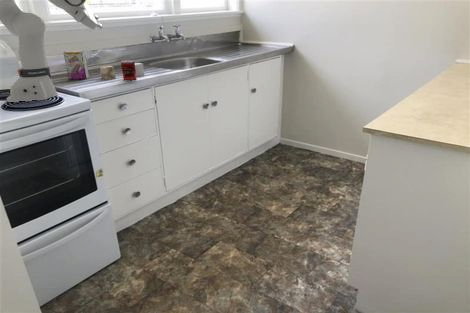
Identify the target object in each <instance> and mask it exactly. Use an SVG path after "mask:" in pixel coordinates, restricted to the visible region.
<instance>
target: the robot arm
mask: <svg viewBox="0 0 470 313" xmlns="http://www.w3.org/2000/svg"><path fill="white" fill-rule="evenodd" d="M47 1H48V2H49V3H51V4H53V5H54V6H55V7H57V8H59V9H62V10H63V11H64V12H65V13H67V14H69V15H70V16H71V17H72V18H73V19H74V20H75V21H76V22H77V23H81V24H82V25H84V26H85V27H87V28H89V29H91V30H95V29H96V28H99V29H100V30H102V29H103V25H102V24H101V23H98V22H97V21H98V20H99V16H98V15H96V14H95V13H94V12H93V11H92V9H91V7H90V5H88V4H86V3H85V2H86V1H87V0H47ZM0 22H1V24H2V25H3V26H4V27H5V28H6V29H7V30H8V32H10V33H11V34H13V36H15V37H18V50H17V51H18V57H19V61H20V63H21V67H22V68H18V70H17V73H18V75H19V77H18V79H16V80H15V82H13V84H11V86H10V89H9V90H10V95H9V96H8V97H6V102H7V103H9V102H14V103H20V102H19V101H25V102H33V101H32V100H37V101H44V100H47V99H49V98H54V97H56V96H58V95H59V93H58V92H57V89H56V87H55V85H54V82H53V80H52V73H51V69H50V66H49V65H48V61H47V56H46V52H45V32H46V24H45V21H44V19H43V18H41V17H40V16H39V15H37V14H35V13H32V12H25V11H24V10H22V8H21V7H20V6H19V5H18V3H17V2H16V1H15V0H0Z"/></svg>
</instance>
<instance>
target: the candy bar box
mask: <svg viewBox="0 0 470 313" xmlns="http://www.w3.org/2000/svg"><path fill="white" fill-rule="evenodd" d="M85 52H86V51H85V50H66V51H63V52H62V53H63V58H64V62H65V66H66V67H65V68H66V72H67V77H68V80H87V79H90V75H89V69H88V63H87V58H86V54H85Z"/></svg>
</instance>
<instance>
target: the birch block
mask: <svg viewBox="0 0 470 313" xmlns="http://www.w3.org/2000/svg"><path fill="white" fill-rule="evenodd" d="M99 70H100V76H101V79H102V80H111V79H116V73H115V66H113V65H104V66H99Z"/></svg>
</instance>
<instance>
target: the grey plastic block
mask: <svg viewBox="0 0 470 313" xmlns="http://www.w3.org/2000/svg"><path fill="white" fill-rule="evenodd" d="M135 70H136V77H139V76H144V75H145V70H144V63H141V62H135Z"/></svg>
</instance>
